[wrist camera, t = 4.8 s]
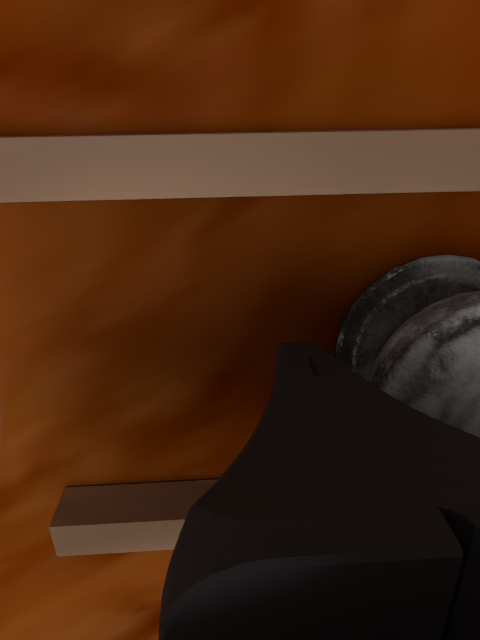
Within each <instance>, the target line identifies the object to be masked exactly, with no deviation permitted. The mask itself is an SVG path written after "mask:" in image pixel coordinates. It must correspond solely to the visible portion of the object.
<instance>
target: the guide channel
mask: <svg viewBox="0 0 480 640" xmlns="http://www.w3.org/2000/svg"><path fill="white" fill-rule="evenodd" d="M454 191H480V128H446V129H389V130H331V131H274V132H217V133H160V134H102V135H45V136H0V202H40V201H81V200H122V199H164V198H205V197H247V196H288V195H330V194H371V193H413V192H454ZM217 480H218V479H215V480H196V481H177V482H158V483H139V484H120V485H102V486H83V487H65V489H64V491H63V494H62V496H61V499H60V501H59V504H58V506H57V509H56V511H55V514H54V516H53V519H52V521H51V524H50V526H49V529H50V533H51V537H52V540H53V544H54V548H55V552H56V555H57V557H58V556H75V555H92V554H108V553H125V552H142V551H158V550H174V548H175V545H176V543H177V540H178V537H179V534H180V532H181V529H182V527H183V524H184V522H185V519H186V517H187V514H188V512H189V509H190V507H191V506H192V505H193V504H194V503H195V502H196V501H197V500H198V499H199V498H200V497H201V496H202V495H203V494H204V493H205V492H206V491H207V490H208V489H209V488H210V487H211V486H212V485H213V484H214V483H215V482H216V481H217Z"/></svg>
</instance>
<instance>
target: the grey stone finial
mask: <svg viewBox="0 0 480 640" xmlns="http://www.w3.org/2000/svg"><path fill="white" fill-rule="evenodd" d="M336 359H337V360H339V361H340V362H341V363H343V364H344V365H345V366H347V367H348V368H349V369H351V370H352V371H354V372H355V373H356V374H358V375H359V376H361V377H362V378H364V379H365V380H367V381H368V382H370V383H371V384H373V385H374V386H376V387H378V388H379V389H381V390H382V391H384V392H386V393H387V394H389V395H390V396H392V397H394V398H396V399H397V400H399V401H401V402H403V403H405V404H406V405H408V406H410V407H412V408H414V409H416V410H418V411H420V412H422V413H424V414H426V415H428V416H430V417H432V418H434V419H437V420H439V421H441V422H443V423H446V424H448V425H450V426H453V427H455V428H458V429H460V430H463V431H465V432H467V433H470V434H472V435H475V436H477V437H480V261H478V260H476V259H474V258H471V257H464V256H457V255H450V254H445V255H437V256H429V257H421V258H419V259H416V260H413V261H411V262H408V263H406V264H403V265H400V266H398V267H395V268H394V269H392V270H391V271H389V272H388V273H386V274H385V275H383V276H382V277H380V278H379V279H377V280H376V281H374V282H373V283H372V284H371V285H370V286H369V287H368V288H367V289H366V290H365V291H364V292H363V293H362V295H361V296H360V297H359V298H358V299H357V300H356V301H355V302H354V304H353V306H352V307H351V309H350V311H349V313H348V314H347V316H346V318H345V319H344V321H343V323H342V326H341V330H340V333H339V337H338V341H337V345H336Z"/></svg>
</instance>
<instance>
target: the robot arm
mask: <svg viewBox="0 0 480 640" xmlns="http://www.w3.org/2000/svg"><path fill="white" fill-rule="evenodd" d="M159 640H480V437H477V436H475V435H472V434H470V433H467V432H465V431H463V430H460V429H458V428H455V427H453V426H450V425H448V424H446V423H443V422H441V421H439V420H437V419H434V418H432V417H430V416H428V415H426V414H424V413H422V412H420V411H418V410H416V409H414V408H412V407H410V406H408V405H406V404H405V403H403V402H401V401H399V400H397V399H396V398H394V397H392V396H390V395H389V394H387V393H386V392H384V391H382V390H381V389H379V388H378V387H376V386H374V385H373V384H371V383H370V382H368V381H367V380H365V379H364V378H362V377H361V376H359V375H358V374H356V373H355V372H354V371H352V370H351V369H349V368H348V367H347V366H345V365H344V364H343V363H341V362H340V361H339V360H337V359H336V358H335V357H333V356H332V355H331V354H329V353H328V352H327V351H325V350H324V349H323V348H321V347H320V346H319V345H317V344H316V343H314V342H293V343H280V344H279V345H278V346H277V347H276V380H275V384H274V387H273V390H272V393H271V396H270V399H269V402H268V404H267V407H266V409H265V411H264V414H263V416H262V418H261V420H260V422H259V424H258V426H257V427H256V429H255V431H254V432H253V434H252V436H251V437H250V439H249V441H248V442H247V444H246V445H245V447H244V448H243V450H242V451H241V453H240V454H239V455H238V456H237V458H236V459H235V460H234V461H233V463H232V464H231V465H230V466H229V468H228V469H227V470H226V471H225V473H224V474H223V475H222V476H221V477H220V478H219V479H218V480H217V481H216V482H215V483H214V484H213V485H212V486H211V487H210V488H209V489H208V490H207V491H206V492H205V493H204V494H203V495H202V496H201V497H200V498H199V499H198V500H197V501H196V502H195V503H194V504H193V505H192V506H191V507H190V509H189V512H188V514H187V517H186V519H185V522H184V524H183V527H182V529H181V532H180V534H179V537H178V540H177V543H176V545H175V548H174V551H173V554H172V557H171V561H170V564H169V567H168V571H167V575H166V579H165V584H164V589H163V594H162V601H161V613H160V625H159Z"/></svg>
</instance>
